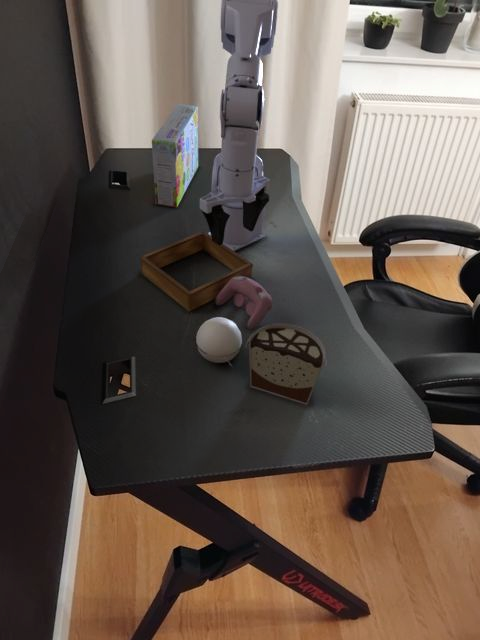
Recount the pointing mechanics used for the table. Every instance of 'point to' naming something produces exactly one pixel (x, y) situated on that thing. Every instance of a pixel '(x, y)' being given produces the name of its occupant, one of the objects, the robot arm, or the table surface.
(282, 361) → the brown and beige cupcake
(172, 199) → the snack box
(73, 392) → the table surface
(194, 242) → the wooden frame
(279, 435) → the table surface
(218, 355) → the seamed sphere
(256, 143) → the robot arm
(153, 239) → the table surface
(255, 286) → the video game controller
